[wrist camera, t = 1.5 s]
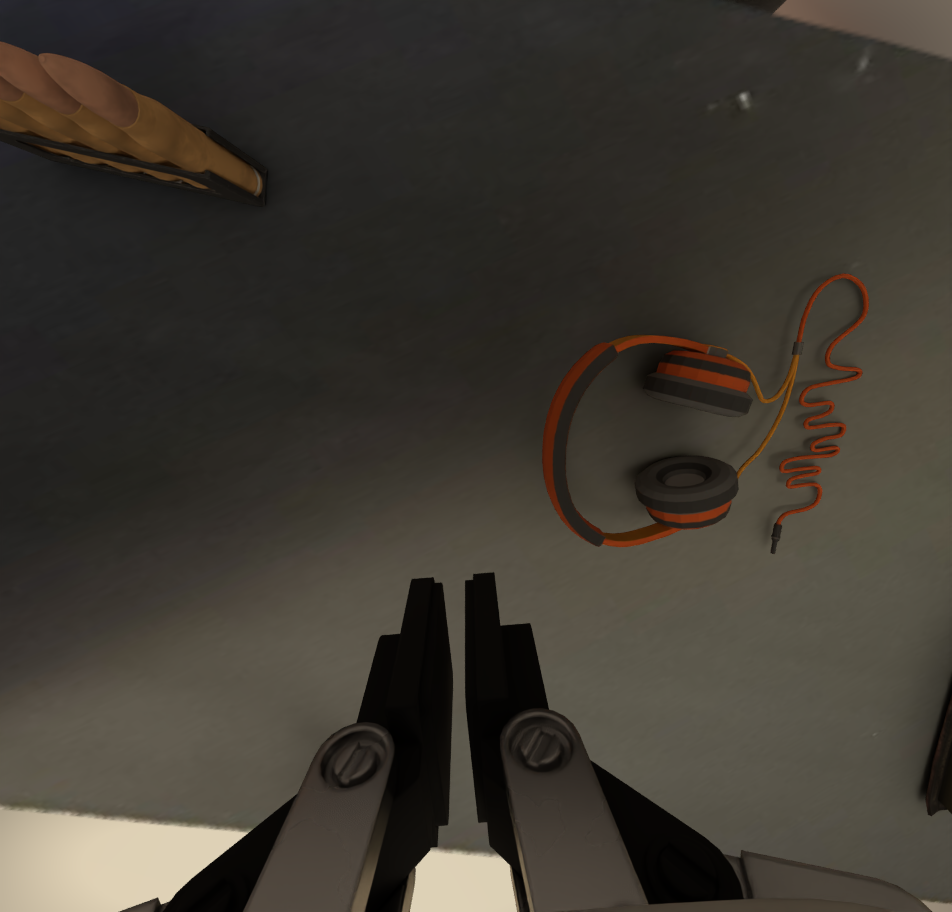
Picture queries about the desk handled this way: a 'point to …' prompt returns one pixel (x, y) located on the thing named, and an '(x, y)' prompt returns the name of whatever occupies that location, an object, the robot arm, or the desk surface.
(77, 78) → the ammunition clip
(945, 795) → the diary
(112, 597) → the desk surface
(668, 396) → the headphones
